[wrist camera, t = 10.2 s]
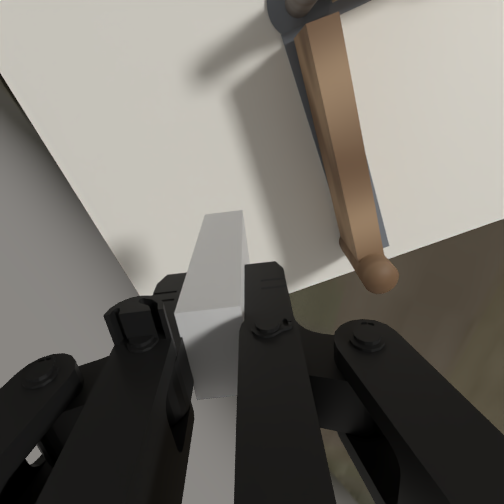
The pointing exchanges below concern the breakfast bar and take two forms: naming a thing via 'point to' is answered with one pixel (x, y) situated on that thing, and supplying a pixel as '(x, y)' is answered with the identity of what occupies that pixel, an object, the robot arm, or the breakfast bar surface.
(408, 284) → the breakfast bar surface
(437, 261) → the breakfast bar surface
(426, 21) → the card
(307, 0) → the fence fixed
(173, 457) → the robot arm
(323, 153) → the bar
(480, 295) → the breakfast bar surface
